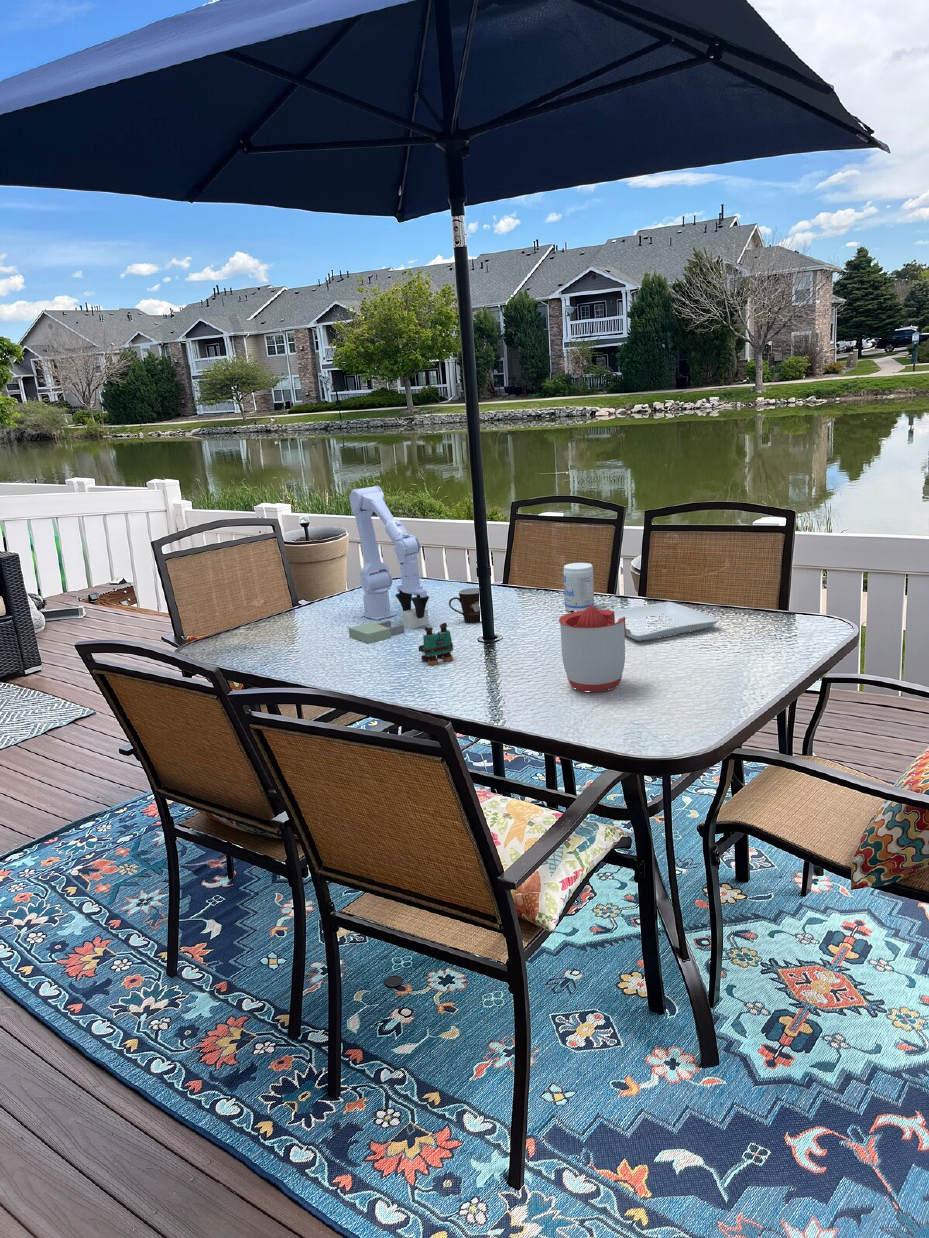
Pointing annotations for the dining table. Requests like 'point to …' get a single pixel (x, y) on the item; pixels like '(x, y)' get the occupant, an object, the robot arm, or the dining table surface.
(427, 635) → the binoculars
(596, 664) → the citrus juicer
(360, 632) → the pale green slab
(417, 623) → the tall pale grey block
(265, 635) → the dining table surface
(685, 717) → the dining table surface
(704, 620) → the square plate
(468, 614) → the coffee mug
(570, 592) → the supplement tub
